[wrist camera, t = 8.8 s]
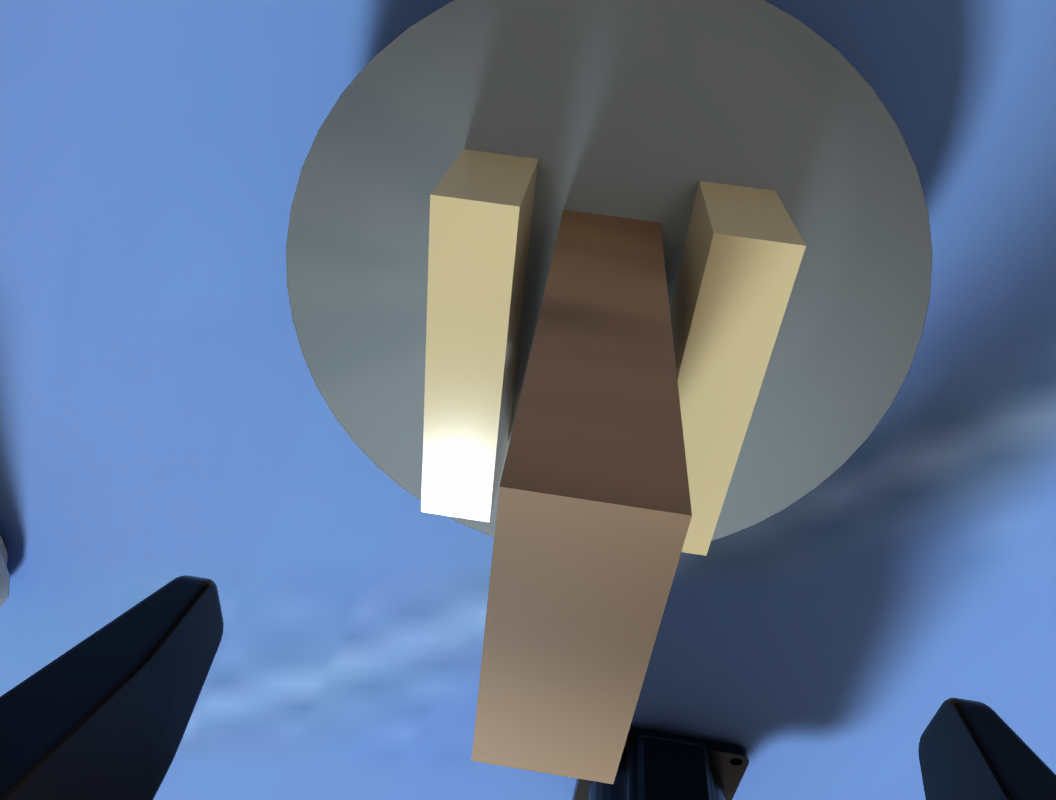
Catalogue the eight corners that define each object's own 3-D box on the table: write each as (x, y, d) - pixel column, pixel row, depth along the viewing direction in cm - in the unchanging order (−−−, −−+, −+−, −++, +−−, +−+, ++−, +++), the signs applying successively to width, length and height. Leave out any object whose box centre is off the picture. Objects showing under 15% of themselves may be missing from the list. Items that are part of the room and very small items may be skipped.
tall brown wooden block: (619, 422, 18) (612, 784, 10) (537, 410, 18) (471, 760, 10) (660, 222, 15) (691, 516, 8) (563, 209, 15) (499, 486, 8)
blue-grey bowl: (784, 497, 23) (836, 687, 18) (351, 431, 24) (261, 594, 18) (973, -3, 16) (1177, 38, 10) (332, -80, 16) (167, -85, 11)
